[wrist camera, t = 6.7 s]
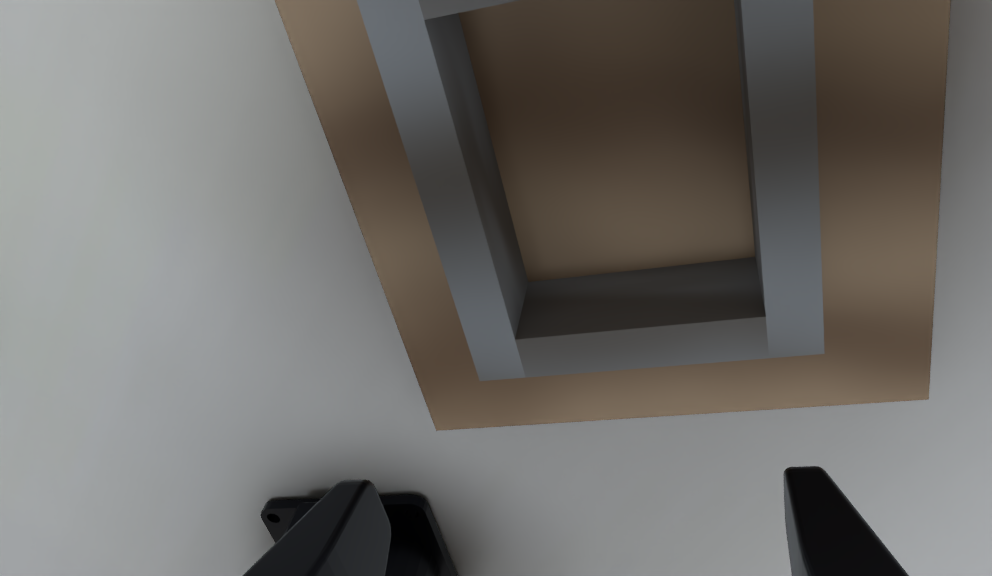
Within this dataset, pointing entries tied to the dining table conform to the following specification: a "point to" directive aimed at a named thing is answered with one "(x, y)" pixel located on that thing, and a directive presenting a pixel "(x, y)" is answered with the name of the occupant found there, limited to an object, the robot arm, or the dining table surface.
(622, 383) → the duct collar
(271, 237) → the dining table surface
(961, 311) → the dining table surface
